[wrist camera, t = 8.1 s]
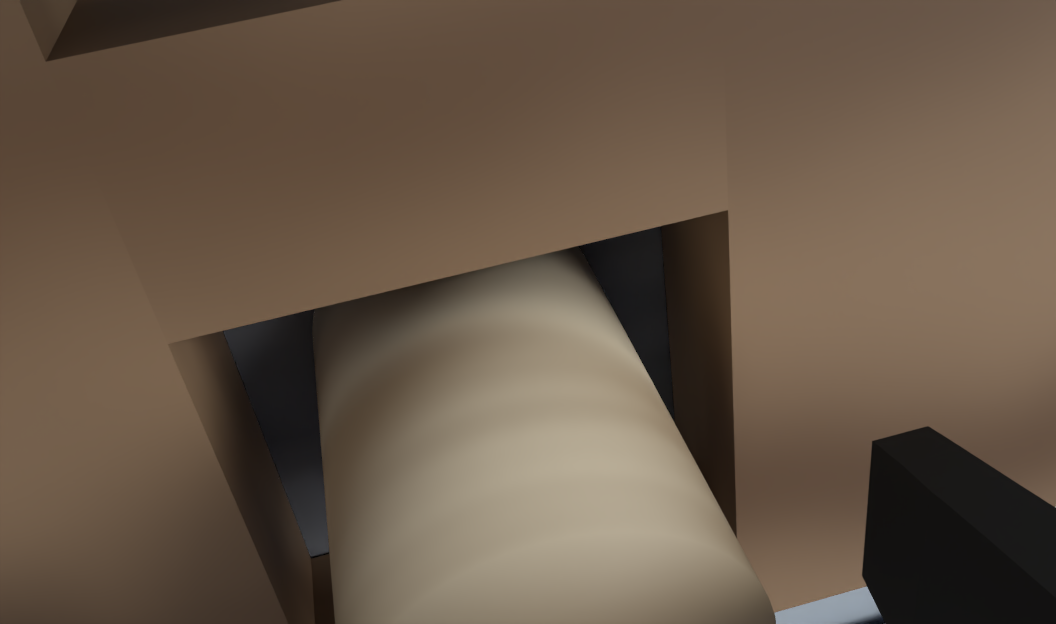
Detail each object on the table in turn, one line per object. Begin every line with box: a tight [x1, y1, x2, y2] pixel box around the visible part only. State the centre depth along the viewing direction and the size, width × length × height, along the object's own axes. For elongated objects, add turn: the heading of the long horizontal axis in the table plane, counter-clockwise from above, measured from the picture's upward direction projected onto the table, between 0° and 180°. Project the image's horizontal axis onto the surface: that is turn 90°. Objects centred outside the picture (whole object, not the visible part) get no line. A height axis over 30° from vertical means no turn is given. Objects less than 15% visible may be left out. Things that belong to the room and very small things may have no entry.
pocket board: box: [0, 0, 1056, 624], centre depth 9 cm, size 17×16×6 cm
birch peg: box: [312, 246, 776, 624], centre depth 11 cm, size 4×4×6 cm
